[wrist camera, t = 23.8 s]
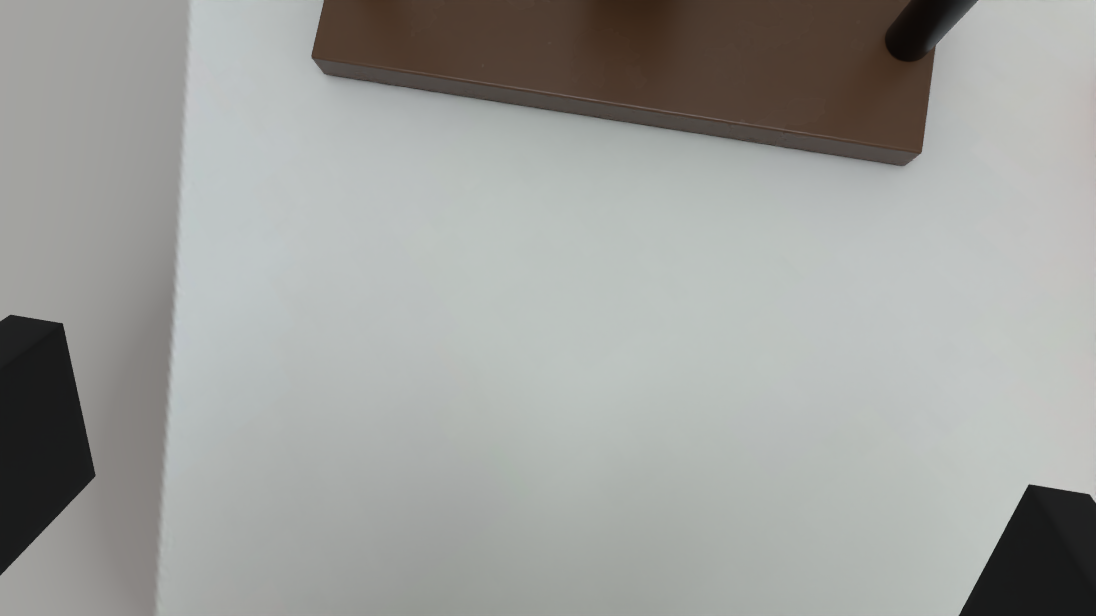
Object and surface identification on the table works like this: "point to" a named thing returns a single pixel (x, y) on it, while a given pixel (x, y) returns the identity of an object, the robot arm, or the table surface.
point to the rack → (667, 62)
